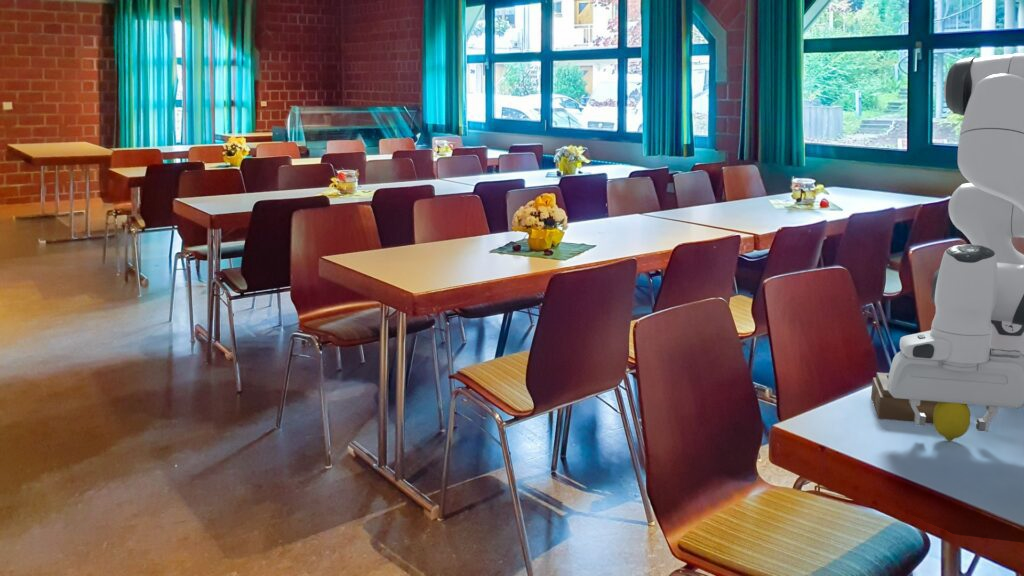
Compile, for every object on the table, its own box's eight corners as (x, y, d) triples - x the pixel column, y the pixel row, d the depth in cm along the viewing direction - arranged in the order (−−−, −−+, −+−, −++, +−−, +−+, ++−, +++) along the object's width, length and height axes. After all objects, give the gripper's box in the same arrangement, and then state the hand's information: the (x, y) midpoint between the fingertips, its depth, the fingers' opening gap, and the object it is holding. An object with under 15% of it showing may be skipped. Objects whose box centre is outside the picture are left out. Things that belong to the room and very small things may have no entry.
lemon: (938, 432, 154) (943, 387, 152) (972, 441, 150) (978, 394, 148) (925, 440, 150) (930, 394, 148) (960, 449, 146) (965, 402, 145)
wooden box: (871, 397, 171) (873, 371, 170) (940, 403, 168) (942, 376, 167) (878, 418, 160) (881, 390, 159) (952, 425, 157) (955, 396, 156)
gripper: (1025, 346, 147) (1015, 427, 150) (890, 336, 152) (882, 415, 155) (1036, 356, 141) (1025, 440, 144) (895, 346, 146) (887, 427, 149)
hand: (950, 427), depth 150 cm, fingers open, 8 cm apart
